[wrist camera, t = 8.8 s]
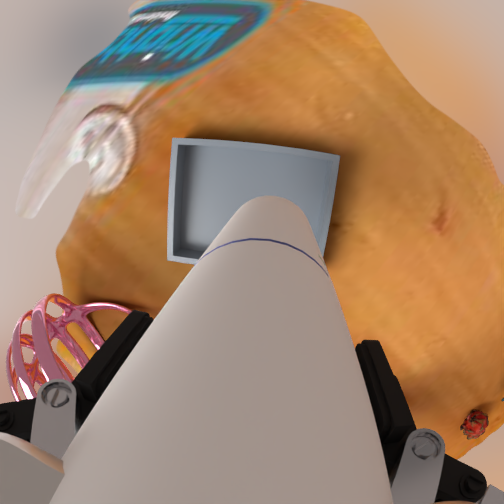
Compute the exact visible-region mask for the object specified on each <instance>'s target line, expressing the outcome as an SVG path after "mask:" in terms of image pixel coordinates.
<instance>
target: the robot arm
mask: <svg viewBox="0 0 504 504" xmlns="http://www.w3.org/2000/svg"><path fill="white" fill-rule="evenodd" d="M152 322H153V318H152V317H150V316H149V314H148V313H147V312H142V311H137V310H133V311H132V312H131V313H130V314H129V315H128V316H127V317H126V319H125V320H124V321H123V322H122V323H121V324H120V326H119V327H118V328H117V329H116V330H115V331H114V333H113V334H112V335H111V336H110V337H109V338H108V339H107V340H106V341H105V342H104V343H103V345H102V346H101V347H100V348H99V349H98V350H97V352H96V353H95V354H94V355H93V357H92V358H91V359H90V360H89V361H88V363H87V364H86V365H85V366H84V368H83V369H82V370H81V371H80V373H79V374H78V375H77V376H76V378H75V379H74V380H73V381H72V383H70V382H69V381H67V380H64V379H52V380H50V381H47V382H46V383H44V384H43V385H42V386H41V387H40V389H39V391H38V393H37V397H36V398H31V399H26V400H20V401H15V402H9V403H3V404H0V504H49V503H50V501H51V499H52V497H53V495H54V493H55V492H56V490H57V488H58V486H59V484H60V483H61V481H62V479H63V477H64V475H65V474H64V469H63V460H61V459H62V457H63V455H64V454H65V452H66V450H67V449H68V447H69V445H70V444H71V442H72V441H73V439H74V437H75V436H76V434H77V433H78V431H79V429H80V428H81V426H82V425H83V423H84V422H85V420H86V419H87V417H88V415H89V414H90V412H91V411H92V409H93V408H94V406H95V405H96V403H97V402H98V400H99V399H100V397H101V396H102V394H103V393H104V391H105V390H106V388H107V387H108V385H109V384H110V382H111V381H112V379H113V378H114V376H115V375H116V373H117V372H118V370H119V369H120V367H121V366H122V365H123V363H124V362H125V360H126V359H127V357H128V356H129V354H130V353H131V352H132V350H133V349H134V347H135V346H136V344H137V343H138V342H139V340H140V339H141V337H142V336H143V335H144V333H145V332H146V330H147V329H148V328H149V326H150V325H151V323H152ZM355 351H356V355H357V358H358V361H359V364H360V368H361V371H362V374H363V378H364V381H365V385H366V388H367V392H368V395H369V399H370V403H371V406H372V410H373V414H374V418H375V422H376V426H377V430H378V434H379V438H380V442H381V446H382V450H383V455H384V459H385V464H386V469H387V473H388V478H389V483H390V489H391V494H392V500H393V504H504V492H503V491H501V490H499V489H498V488H496V487H494V486H492V485H489V486H488V487H487V482H486V479H485V477H484V475H483V474H482V473H481V472H479V471H478V470H476V469H474V468H472V467H470V466H468V465H466V464H464V463H462V462H460V461H458V460H456V459H454V458H452V457H450V456H449V455H447V454H445V443H444V440H443V439H442V437H441V436H440V435H439V434H438V433H436V432H435V431H433V430H430V429H425V428H423V429H416V426H415V423H414V420H413V418H412V415H411V412H410V410H409V407H408V404H407V402H406V399H405V397H404V394H403V392H402V389H401V387H400V384H399V382H398V379H397V377H396V376H395V375H393V372H392V370H391V368H390V365H389V363H388V360H387V358H386V356H385V353H384V351H383V349H382V346H381V344H380V342H379V341H378V340H363V341H362V343H361V344H357V346H356V348H355Z"/></svg>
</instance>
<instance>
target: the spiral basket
mask: <svg viewBox="0 0 504 504" xmlns="http://www.w3.org/2000/svg"><path fill="white" fill-rule="evenodd" d="M48 302H52V303H54V304H56V305H58V306H60V307H61V308H62V309H63V310H64V314H63V315H62V316H60V317H58V318H54V317H52V316H50V315H49V314H47V313H46V307H47V304H48ZM99 310H117V311H121V312H124V313H127V314H130V313H131V312H132V311H133V310H131V309H129V308H127V307H125V306H122V305H119V304H115V303H110V302H93V303H88V304H83V305H76V304H74V303H73V302H71V301H70V300H69V299H67V298H66V297H64V296H62V295H60V294H49V295H46V296H44V297H43V298H41V299H40V300H39V301H38V302H37V303H36V305H35V307H34V309H33V310H29V311H27V312H25V313H24V314H23V315H22V316H21V317H20V318H19V320H18V322H17V323H16V325H15V328H14V331H13V336H12V340H11V342H10V344H9V347H8V350H7V356H6V372H7V377H8V383H9V386H10V389H11V392H12V395H13V397H14V400H15V401H20V400H21V398H20V396H19V393H18V385H17V384H18V381H19V383H20V386H21V388H22V390H23V392H24V394H25V397H26V398H27V399H31V398H36V397H37V393H36V391H35V389H34V384H35V382H37V383H38V384H39V385H40V386H42V385H43V384H44V383H46V382H47V381H50V380H52V379H64V380H67V381H69V382H70V383H72V381H73V380H74V378H73V376H72V375H71V373H70V372H69V370H68V369H67V367H66V366H65V365H64V363H63V362H62V361H61V360H60V358H59V357H58V356H57V355H56V354H55V353H54V352H53V350H52V347H51V341H52V340H53V339H54V338H58V339H59V340H60V341H61V342H62V343H63V344H64V345H65V346H66V347H67V349H68V350H69V351H70V352H71V354H72V355H73V356H74V358H75V359H76V360H77V362H78V363H79V365H80V366H81V368H82V369H83V368H84V366H85V365H86V364H87V363H88V361H89V358H88V357H87V355H86V354H85V353H84V351H83V350H82V348H81V347H80V346H79V344H78V343H77V342H76V341H75V339H74V338H73V337H72V336H71V334H70V333H69V332H68V330H67V325H68V324H70V323H72V322H74V323H77V324H78V325H79V326H80V327H81V328H82V330H83V331H84V332H85V333H86V335H87V336H88V337H89V339H90V340H91V342H92V343H93V344H94V346H95V347H96V349H97V350H98V349H99V348H100V347H101V346H102V345H103V343H104V342H105V341H104V340H103V338H102V337H101V335H100V334H99V333H98V331H97V330H96V329H95V327H94V326H93V325H92V323H91V322H90V321H89V319H88V318H87V314H89V313H91V312H94V311H99ZM26 321H31V327H32V335H30V334H24V333H23V334H21V329H22V325H23V323H24V322H26ZM21 347H27V348H30V349H32V350H33V351H34V357H33V360H32V363H30V364H29V363H26V362H24V360H23V355H22V349H21ZM12 356H13V362H14V367H13V369H11V358H12ZM39 364H40V366H41V368H42V371H43V373H41V371H40V370H39Z"/></svg>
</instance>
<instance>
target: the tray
mask: <svg viewBox="0 0 504 504" xmlns="http://www.w3.org/2000/svg"><path fill="white" fill-rule="evenodd" d="M339 161H340V155H335V154H329V153H323V152H318V151H311V150H305V149H298V148H291V147H284V146H276V145H268V144H259V143H249V142H239V141H226V140H211V139H192V138H172V150H171V163H170V179H169V199H168V234H167V260H168V261H174V262H181V263H188V264H194V265H195V264H196V263H197V261H198V260H199V259H200V257H201V256H202V255H203V253H204V252H205V251H206V250H207V248H208V247H209V246H210V244H211V243H212V242H213V240H214V239H215V238H216V237H217V235H218V234H219V233H220V232H221V230H222V229H223V228H224V226H225V225H226V224H227V223H228V221H229V220H230V219H231V218H232V216H233V215H234V214H235V213H236V211H237V210H238V209H239V208H240V207H241V206H242V205H243V204H245V203H246V202H248V201H249V200H252V199H254V198H257V197H261V196H278V197H282V198H285V199H287V200H289V201H291V202H293V203H294V204H295V205H297V206H298V207H299V208H300V209H301V210H302V211H303V213H304V214H305V216H306V217H307V219H308V221H309V224H310V226H311V229H312V231H313V234H314V236H315V239H316V241H317V244H318V247H319V249H320V252H321V254H322V257H323V255H324V250H325V245H326V240H327V234H328V229H329V224H330V218H331V212H332V206H333V200H334V194H335V188H336V182H337V175H338V168H339Z"/></svg>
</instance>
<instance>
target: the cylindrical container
mask: <svg viewBox="0 0 504 504" xmlns="http://www.w3.org/2000/svg"><path fill="white" fill-rule="evenodd" d="M61 460H63V469H64V474H65V475H64V477H63V479H62V481H61V483H60V484H59V486H58V488H57V490H56V492H55V493H54V495H53V497H52V499H51V501H50V503H49V504H393V500H392V494H391V489H390V483H389V478H388V473H387V469H386V464H385V459H384V455H383V450H382V446H381V442H380V438H379V434H378V430H377V426H376V422H375V418H374V414H373V410H372V406H371V403H370V399H369V395H368V392H367V388H366V385H365V381H364V378H363V374H362V371H361V368H360V364H359V361H358V358H357V355H356V351H355V348H354V345H353V342H352V339H351V336H350V333H349V330H348V327H347V324H346V321H345V318H344V315H343V312H342V309H341V306H340V303H339V300H338V297H337V294H336V292H335V289H334V286H333V283H332V281H331V278H330V276H329V273H328V270H327V267H326V265H325V262H324V259H323V257H322V254H321V252H320V249H319V247H318V244H317V241H316V239H315V236H314V234H313V231H312V229H311V226H310V224H309V221H308V219H307V217H306V216H305V214H304V213H303V211H302V210H301V209H300V208H299V207H298V206H297V205H295V204H294V203H293V202H291V201H289V200H287V199H285V198H282V197H278V196H261V197H257V198H254V199H252V200H249V201H248V202H246V203H245V204H243V205H242V206H241V207H240V208H239V209H238V210H237V211H236V213H235V214H234V215H233V216H232V218H231V219H230V220H229V221H228V223H227V224H226V225H225V226H224V228H223V229H222V230H221V232H220V233H219V234H218V235H217V237H216V238H215V239H214V240H213V242H212V243H211V244H210V246H209V247H208V248H207V250H206V251H205V252H204V253H203V255H202V256H201V257H200V259H199V260H198V261H197V263H196V264H195V265H194V267H193V268H192V269H191V271H190V272H189V273H188V274H187V276H186V277H185V278H184V280H183V281H182V282H181V284H180V285H179V286H178V288H177V289H176V291H175V292H174V293H173V295H172V296H171V297H170V299H169V300H168V301H167V303H166V304H165V305H164V307H163V308H162V310H161V311H160V312H159V314H158V315H157V316H156V318H155V319H154V321H153V322H152V323H151V325H150V326H149V328H148V329H147V330H146V332H145V333H144V335H143V336H142V337H141V339H140V340H139V342H138V343H137V344H136V346H135V347H134V349H133V350H132V352H131V353H130V354H129V356H128V357H127V359H126V360H125V362H124V363H123V365H122V366H121V367H120V369H119V370H118V372H117V373H116V375H115V376H114V378H113V379H112V381H111V382H110V384H109V385H108V387H107V388H106V390H105V391H104V393H103V394H102V396H101V397H100V399H99V400H98V402H97V403H96V405H95V406H94V408H93V409H92V411H91V412H90V414H89V415H88V417H87V419H86V420H85V422H84V423H83V425H82V426H81V428H80V429H79V431H78V433H77V434H76V436H75V437H74V439H73V441H72V442H71V444H70V445H69V447H68V449H67V450H66V452H65V454H64V455H63V457H62V459H61Z"/></svg>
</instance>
